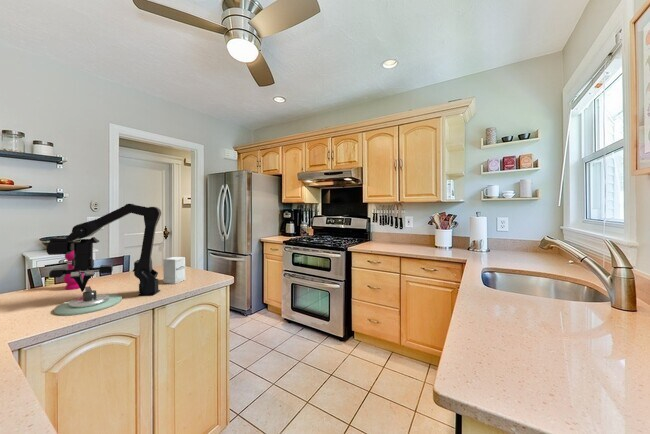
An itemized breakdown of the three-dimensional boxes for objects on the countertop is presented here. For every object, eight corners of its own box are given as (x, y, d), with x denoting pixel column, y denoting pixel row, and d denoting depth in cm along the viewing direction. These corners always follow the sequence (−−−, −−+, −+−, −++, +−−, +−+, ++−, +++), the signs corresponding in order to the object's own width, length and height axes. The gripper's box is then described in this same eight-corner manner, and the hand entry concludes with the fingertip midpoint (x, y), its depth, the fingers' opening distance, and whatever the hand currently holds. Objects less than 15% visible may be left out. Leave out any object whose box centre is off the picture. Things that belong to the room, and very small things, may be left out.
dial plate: (132, 295, 115) (132, 292, 114) (98, 314, 95) (98, 310, 95) (83, 297, 112) (82, 294, 112) (37, 316, 92) (37, 313, 92)
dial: (111, 301, 104) (111, 291, 103) (69, 310, 95) (69, 299, 95) (106, 292, 114) (106, 283, 114) (68, 299, 106) (67, 289, 105)
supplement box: (175, 284, 131) (174, 259, 130) (163, 283, 133) (162, 258, 132) (186, 280, 138) (185, 256, 138) (174, 279, 140) (173, 256, 139)
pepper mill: (74, 290, 121) (73, 248, 120) (59, 290, 121) (58, 247, 120) (89, 285, 128) (87, 245, 127) (74, 285, 128) (73, 245, 127)
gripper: (114, 250, 119) (113, 283, 119) (57, 252, 108) (56, 289, 108) (111, 253, 110) (111, 290, 110) (49, 256, 99) (48, 297, 99)
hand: (82, 291), depth 107 cm, fingers closed
